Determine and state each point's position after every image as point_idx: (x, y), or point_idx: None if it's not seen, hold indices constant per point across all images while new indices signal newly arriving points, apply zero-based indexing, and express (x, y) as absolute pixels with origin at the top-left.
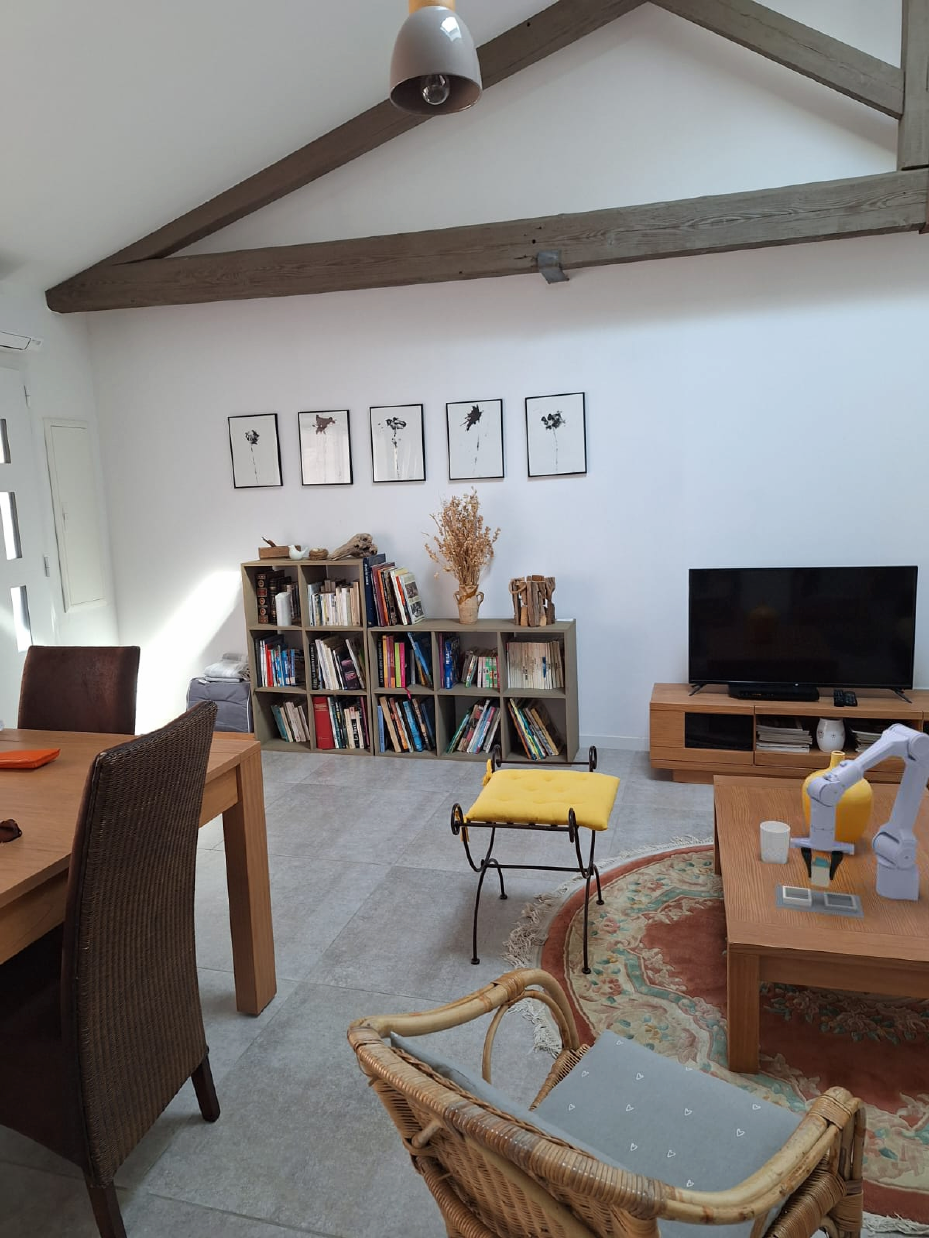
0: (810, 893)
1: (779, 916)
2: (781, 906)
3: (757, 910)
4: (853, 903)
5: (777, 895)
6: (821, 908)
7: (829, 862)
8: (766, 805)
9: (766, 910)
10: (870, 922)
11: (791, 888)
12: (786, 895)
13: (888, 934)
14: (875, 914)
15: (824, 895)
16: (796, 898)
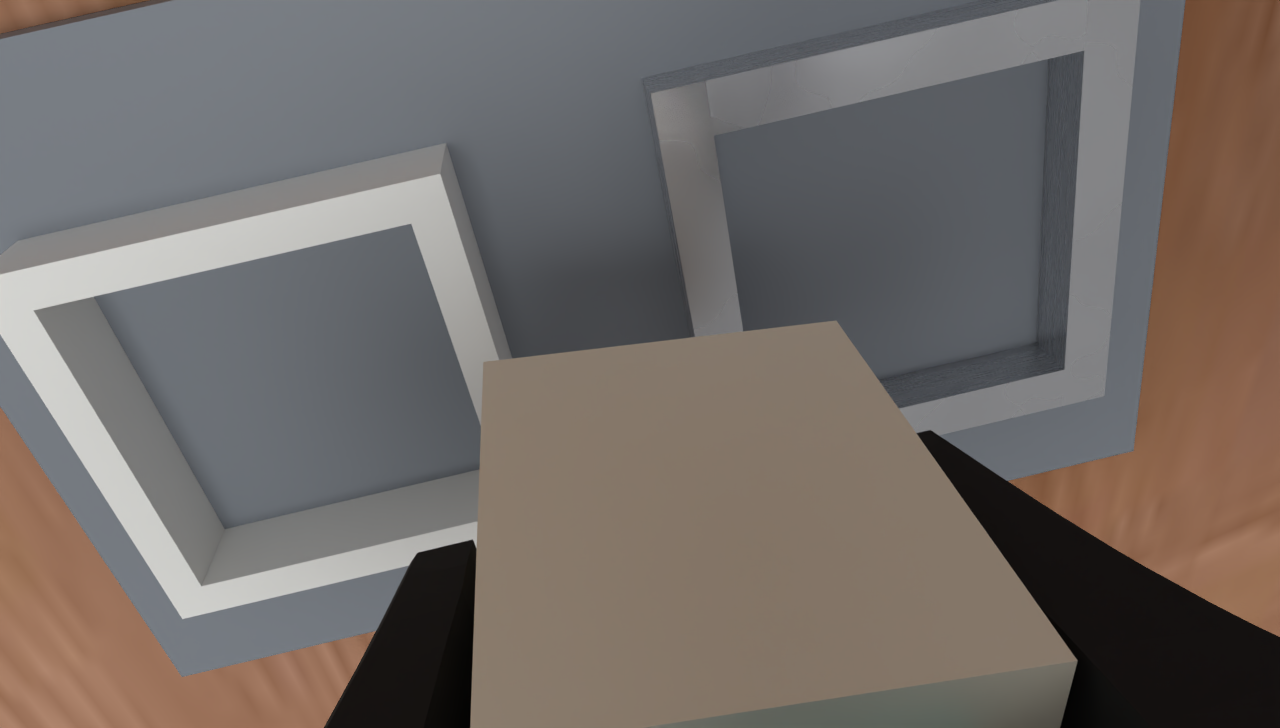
0: (487, 336)
1: (278, 705)
2: (228, 635)
3: (18, 711)
4: (1081, 270)
5: (35, 410)
6: None
7: (1041, 701)
8: None
9: (100, 670)
10: (1167, 395)
11: (147, 282)
12: (145, 346)
13: (1276, 526)
14: (1274, 184)
15: (685, 222)
16: (351, 563)
